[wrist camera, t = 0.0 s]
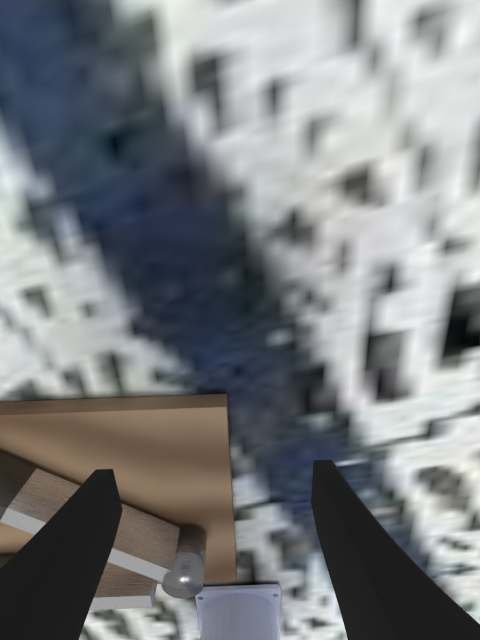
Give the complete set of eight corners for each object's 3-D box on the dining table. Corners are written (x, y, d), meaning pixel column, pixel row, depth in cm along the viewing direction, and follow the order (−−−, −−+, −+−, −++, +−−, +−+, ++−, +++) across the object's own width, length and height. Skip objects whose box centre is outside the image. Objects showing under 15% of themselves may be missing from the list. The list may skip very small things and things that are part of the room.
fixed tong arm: (159, 549, 25) (149, 595, 22) (161, 562, 25) (152, 608, 22) (-29, 557, 25) (-64, 604, 22) (-23, 569, 25) (-56, 617, 22)
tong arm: (213, 533, 24) (210, 581, 21) (195, 554, 25) (190, 603, 22) (-34, 429, 20) (-81, 469, 17) (-46, 457, 21) (-93, 500, 18)
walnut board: (236, 561, 28) (236, 580, 27) (-29, 572, 28) (-43, 591, 27) (226, 393, 22) (226, 406, 20) (-118, 406, 22) (-142, 420, 20)
